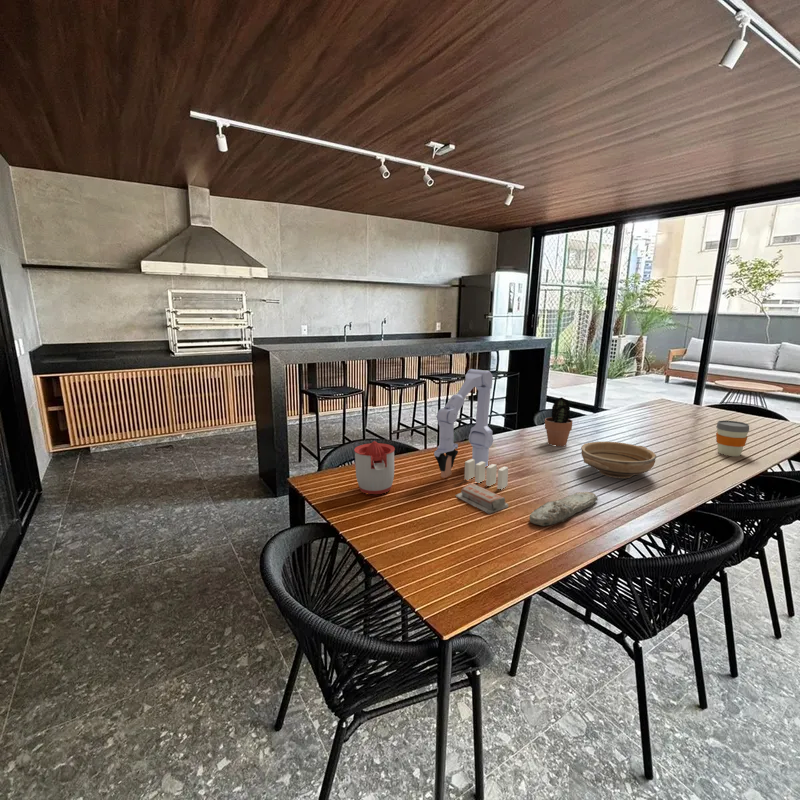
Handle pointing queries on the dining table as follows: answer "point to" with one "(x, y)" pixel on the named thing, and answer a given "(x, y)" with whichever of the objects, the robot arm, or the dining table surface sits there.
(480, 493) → the packaged product
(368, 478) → the citrus juicer
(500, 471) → the domino
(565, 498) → the long grey stone
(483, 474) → the domino
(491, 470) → the domino
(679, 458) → the dining table surface
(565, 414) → the potted plant
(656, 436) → the dining table surface
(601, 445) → the ceramic bowl
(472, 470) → the cream white flat block
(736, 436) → the reusable coffee cup
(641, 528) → the dining table surface
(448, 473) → the brown rectangular block
